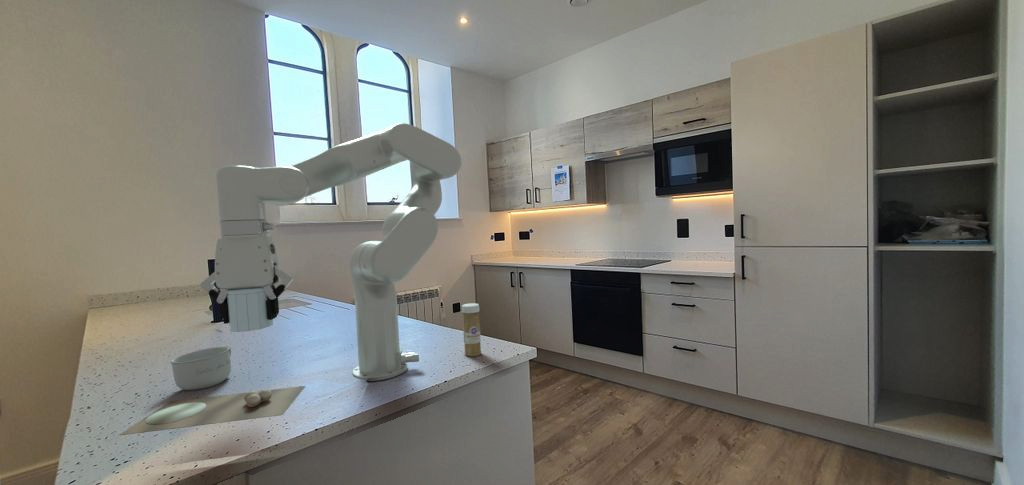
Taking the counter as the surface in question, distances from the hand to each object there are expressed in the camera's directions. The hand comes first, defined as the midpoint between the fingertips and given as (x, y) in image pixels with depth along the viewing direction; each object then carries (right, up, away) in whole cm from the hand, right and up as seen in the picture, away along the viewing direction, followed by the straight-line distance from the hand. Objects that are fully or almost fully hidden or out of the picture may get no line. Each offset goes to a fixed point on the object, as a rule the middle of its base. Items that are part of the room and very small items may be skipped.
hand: (251, 319), depth 80 cm
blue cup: (0, -2, 0) cm, 2 cm away
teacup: (-19, -18, +15) cm, 31 cm away
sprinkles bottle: (+41, -15, +28) cm, 52 cm away
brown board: (-5, -18, 0) cm, 19 cm away
